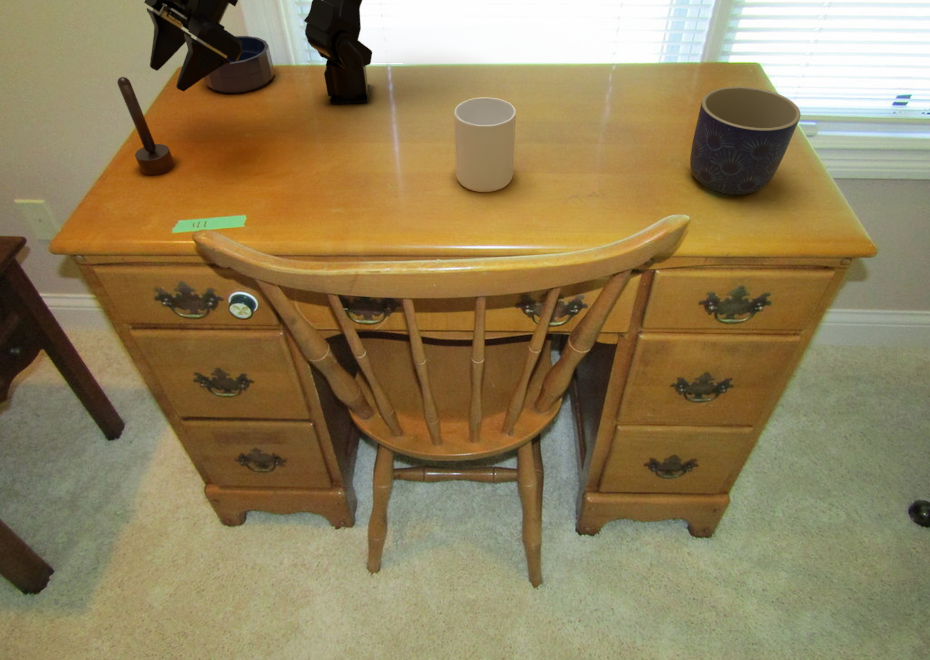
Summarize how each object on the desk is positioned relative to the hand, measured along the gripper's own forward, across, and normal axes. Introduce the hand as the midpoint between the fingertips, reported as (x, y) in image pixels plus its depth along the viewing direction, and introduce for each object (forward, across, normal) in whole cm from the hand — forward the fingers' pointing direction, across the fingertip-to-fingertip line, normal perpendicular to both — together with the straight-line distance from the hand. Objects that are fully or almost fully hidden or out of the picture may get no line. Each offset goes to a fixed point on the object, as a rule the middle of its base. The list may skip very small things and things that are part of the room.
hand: (166, 79), depth 90 cm
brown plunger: (+12, 0, +4) cm, 13 cm away
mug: (-13, +34, +30) cm, 47 cm away
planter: (-30, +59, +47) cm, 81 cm away
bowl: (-4, -20, +21) cm, 29 cm away
